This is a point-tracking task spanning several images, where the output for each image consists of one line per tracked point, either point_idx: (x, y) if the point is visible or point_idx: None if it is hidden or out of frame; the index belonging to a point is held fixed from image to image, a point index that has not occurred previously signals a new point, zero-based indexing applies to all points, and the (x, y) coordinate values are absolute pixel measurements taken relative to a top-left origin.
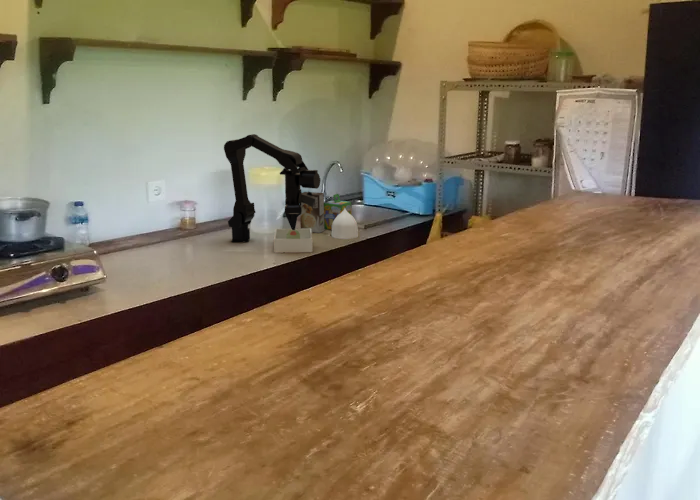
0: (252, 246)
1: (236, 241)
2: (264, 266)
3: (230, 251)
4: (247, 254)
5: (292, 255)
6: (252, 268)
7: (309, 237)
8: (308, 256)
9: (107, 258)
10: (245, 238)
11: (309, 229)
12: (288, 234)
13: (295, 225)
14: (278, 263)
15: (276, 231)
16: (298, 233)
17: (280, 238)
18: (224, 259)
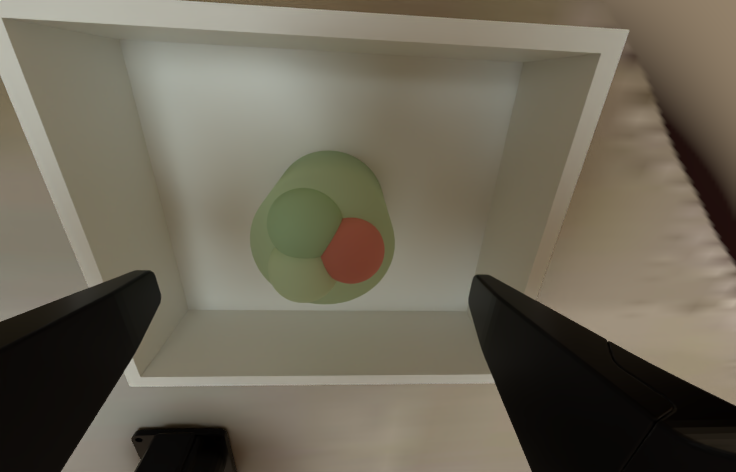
0: (314, 405)
1: (233, 467)
2: (720, 344)
3: (402, 464)
4: (471, 412)
5: (572, 212)
6: (719, 383)
7: (100, 40)
8: (649, 95)
9: None
10: (203, 453)
11: (11, 24)
12: (342, 288)
13: (544, 308)
14: (707, 288)
15: (210, 372)
16: (323, 196)
17: (175, 297)
18: (527, 468)
